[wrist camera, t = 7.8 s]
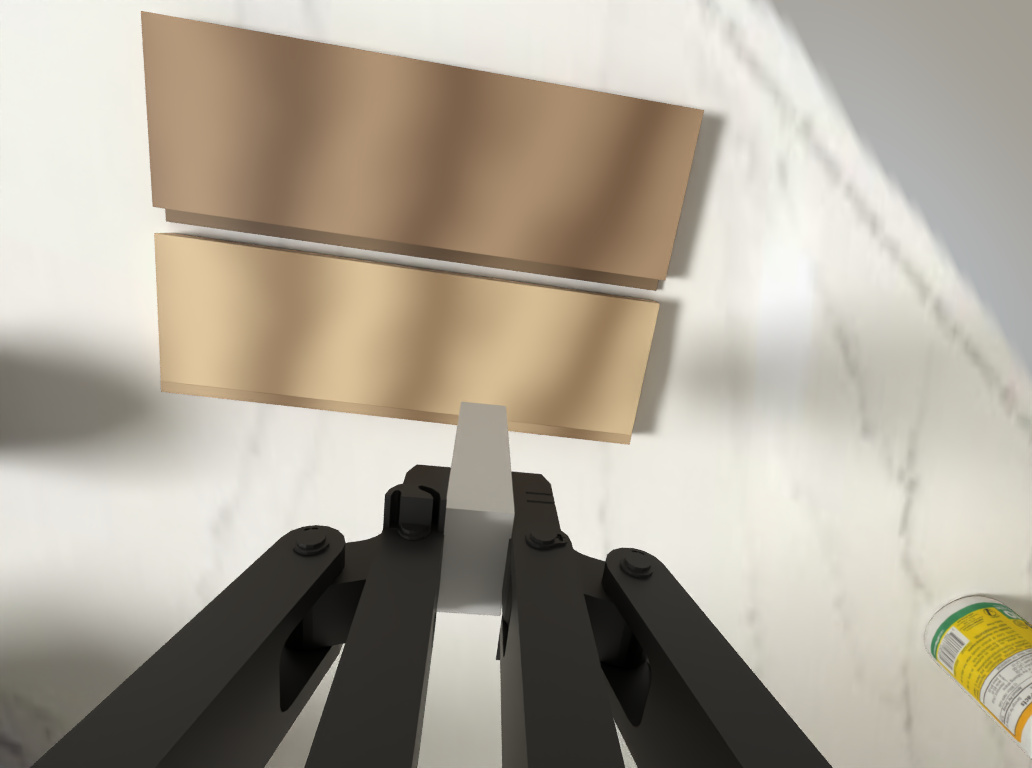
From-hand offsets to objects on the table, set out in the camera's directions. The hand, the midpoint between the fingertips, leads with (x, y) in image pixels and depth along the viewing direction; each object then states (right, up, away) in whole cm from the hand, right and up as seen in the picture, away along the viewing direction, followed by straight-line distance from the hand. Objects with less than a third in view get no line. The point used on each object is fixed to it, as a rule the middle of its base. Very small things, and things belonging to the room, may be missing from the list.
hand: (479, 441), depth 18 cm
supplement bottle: (+29, -13, +15) cm, 35 cm away
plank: (-4, +4, +8) cm, 9 cm away
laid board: (-2, +11, +5) cm, 13 cm away
